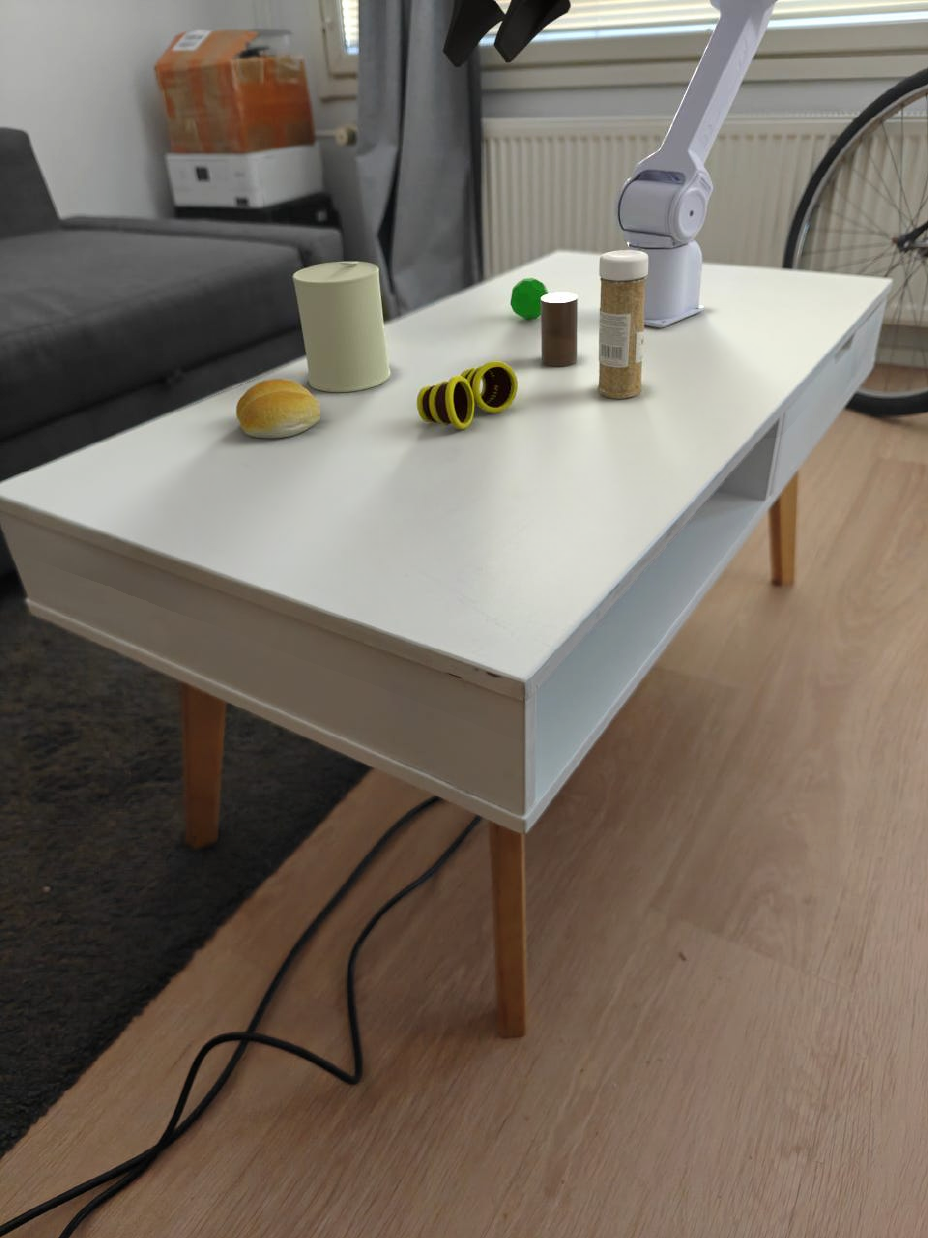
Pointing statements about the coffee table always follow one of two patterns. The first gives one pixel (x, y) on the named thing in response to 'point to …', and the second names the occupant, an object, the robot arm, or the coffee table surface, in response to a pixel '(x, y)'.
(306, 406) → the bread roll
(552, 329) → the walnut peg
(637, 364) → the sprinkles bottle
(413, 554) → the coffee table surface
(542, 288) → the polyhedron
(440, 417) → the opera glasses
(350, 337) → the can
